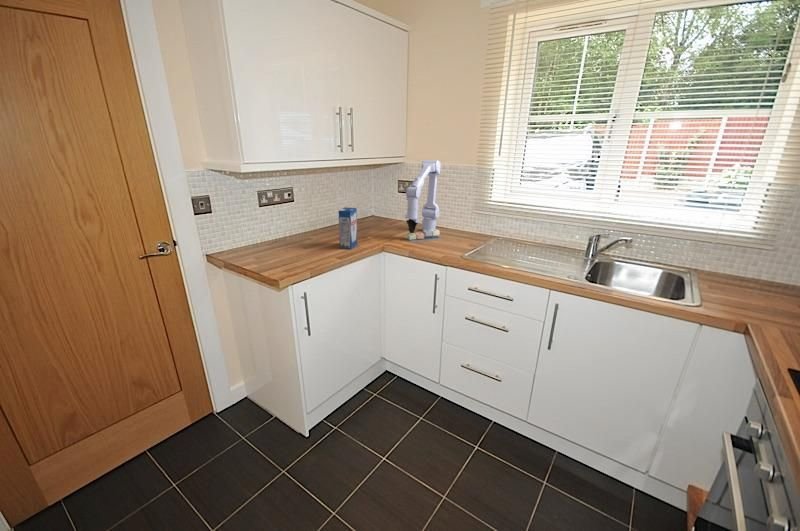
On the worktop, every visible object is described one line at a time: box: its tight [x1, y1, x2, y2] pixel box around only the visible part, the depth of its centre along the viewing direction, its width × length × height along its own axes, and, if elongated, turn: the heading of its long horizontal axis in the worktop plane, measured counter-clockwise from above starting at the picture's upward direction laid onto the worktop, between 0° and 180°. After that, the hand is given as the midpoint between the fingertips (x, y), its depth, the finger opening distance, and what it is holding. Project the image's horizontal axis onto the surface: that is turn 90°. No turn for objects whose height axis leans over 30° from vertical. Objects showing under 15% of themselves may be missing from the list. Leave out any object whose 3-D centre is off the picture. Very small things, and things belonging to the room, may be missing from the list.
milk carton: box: [338, 207, 358, 250], centre depth 180 cm, size 10×6×20 cm, turn 168°
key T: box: [414, 232, 424, 239], centre depth 197 cm, size 4×4×2 cm
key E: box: [406, 232, 416, 241], centre depth 195 cm, size 4×4×2 cm
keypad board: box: [403, 235, 444, 243], centre depth 198 cm, size 12×20×1 cm, turn 113°
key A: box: [430, 228, 441, 236], centre depth 200 cm, size 4×4×2 cm
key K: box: [422, 230, 432, 236], centre depth 198 cm, size 4×4×2 cm
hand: (411, 232), depth 194 cm, fingers closed
